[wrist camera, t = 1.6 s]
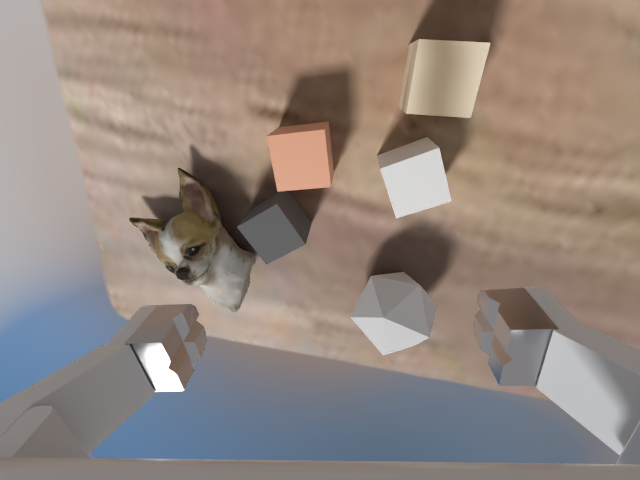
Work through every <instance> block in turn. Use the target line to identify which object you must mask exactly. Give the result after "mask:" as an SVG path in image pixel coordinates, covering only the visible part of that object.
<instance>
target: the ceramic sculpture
mask: <svg viewBox="0 0 640 480" xmlns="http://www.w3.org/2000/svg"><path fill="white" fill-rule="evenodd" d="M178 173H179V177H180V193H179V194H180V201H181V205H182V207H183V209H184V212H183V213H181V214H178V215H176V216H174V217H173V218H171V219H170V220H169V221H167V222H166V223H165V222H163V221H161V220H159V219H142V218H130V219H129V220H130V222H131V223H132V224H133V225H135V226H136V227H138V228H139V229H140V230H141V231H142V233H143V235H144V237H145V239H146V240H147V241H148V242H149V246H150V247H151V249H152V251H153V252H155V253H156V254H157V257H158V259H159V260H160V261H161V262H162V263H164V264H165V267H166V268H167V269H168V270H169V271H171V272H172V273H174V274H175V275H176V276H177V278H178V279H179V281H180V282H181V283H183V284H184V285H191V286H201V287H202V289H203V290H204V292H205V293H206V295H207V297H208V298H209V299H210V300H211V301H212V302H214V303H215V304H216V305H218V306H221V307H224V308H228V309H230V310H231V311H232V312H237V310H238V309H239V308H240V306H241V303H242V301H243V299H244V297H245V294H246V292H247V290H248V287H249V284H250V273H251V269H252V266H253V265H254V263H255V261H256V258H255V256H254V255H253V254H252V253H250V252H248V251H245V250H242V249H240V248H239V247H238V246H237V245H236V243H235V242H234V240H233V239H232V238H231V237H230V236H229V234H228V233H227V231H226V230H225V228H224V227H223V226H222V225H221V216H220V213H219V209H218V207H217V204H216V200H215V199H214V197H213V196H212V194H211V192H210V191H209V189H208V188H207V187H206V186H204V185H203V183H202V182H201V181H199V180H198V179H197V178H196V177H194V176H192V175H191V174H189V173H187V172H186V171H184V170H182V169H181V168H178Z"/></svg>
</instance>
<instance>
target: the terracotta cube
mask: <svg viewBox="0 0 640 480" xmlns="http://www.w3.org/2000/svg"><path fill="white" fill-rule="evenodd" d="M267 140H268V146H269V151H270V156H271V161H272V166H273V171H274V177H275V182H276V187H277V192H280V191H291V190H303V189H314V188H326V187H331V184H332V180H333V175H334V166H333V156H332V147H331V137H330V127H329V121H327V122H319V123H310V124H302V125H293V126H285V127H278V128H277V129H276V130H274V131H273V132H272V133H270V134H269V135H267Z"/></svg>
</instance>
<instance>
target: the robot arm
mask: <svg viewBox="0 0 640 480" xmlns="http://www.w3.org/2000/svg"><path fill="white" fill-rule="evenodd" d="M477 304H478V305H479V307H480V310H479V311H478V312H477V313H476V314H475V318H474V330H475V336H476V339H477V342H478V344H479V347H480V349H481V350H482V351H483V352H485V353H486V354H488V355H489V360H488V365H489V367H490V369H491V371H492V373H493V374H494V376H495V378H496V380H497V382H498V384H499V386H537V387H536V388H537V389H538V390H540V391H541V392H542V393H543V394H545V395H546V396H547V397H548V398H550V399H551V400H552V401H553V402H554V403H556V404H557V405H558V406H560V407H561V408H562V409H563V410H564V411H566V412H567V413H568V414H569V415H571V416H572V417H573V418H574V419H575V420H577V421H578V422H579V423H581V424H582V425H583V426H584V427H585V428H587V429H588V430H589V431H590V432H592V433H593V434H594V435H595V436H597V437H598V438H599V439H600V440H601V441H603V442H604V443H605V444H606V445H608V446H609V447H610V448H611V449H613V450H614V451H615V452H616V453H618V454H619V455H620V457H619V459H618V460H617V462H616V464H556V463H553V464H551V463H467V462H464V463H463V462H370V461H369V462H367V461H363V462H362V461H284V460H282V461H281V460H202V459H199V460H198V459H117V458H110V459H109V458H92V456H91V455H90V453H91V452H92V451H93V450H94V449H95V448H96V447H97V446H99V445H100V444H101V443H102V442H103V441H104V440H105V439H106V438H107V437H108V436H109V435H110V434H112V433H113V432H114V431H115V430H116V429H117V428H118V427H119V426H120V425H122V424H123V423H124V422H125V421H126V420H127V419H128V418H129V417H130V416H131V415H132V414H134V413H135V412H136V411H137V410H138V409H139V408H140V407H141V406H142V405H143V404H145V403H146V401H148V400H149V399H150V398H151V397H152V396H153V395H154V394H155V392H164V391H184V389H185V388H186V386H187V383H188V382H189V380H190V378H191V376H192V374H193V372H194V368H193V364H194V363H195V362H196V361H198V360H199V359H200V358H201V357H202V355H203V352H204V350H205V346H206V332H205V329H204V327H203V326H202V325H201V324H200V323H199V322H197V321H196V320H197V318H198V316H199V313H198V311H197V309H196V307H195V306H194V305H192V304H180V305H151V306H144V307H141V308H140V309H139V310H138V311H137V312H136V313H135V314H134V315H133V316H132V317H131V319H130V320H129V321H128V322H127V323H126V324H125V325H124V326H123V327H122V329H121V330H120V331H119V332H118V333H117V334H116V335H115V336H114V337H113V339H112V340H111V341H110V342H109V343H108V344H107V345H102V346H100V347H98V348H96V349H95V350H93V351H91V352H89V353H87V354H86V355H84V356H82V357H80V358H79V359H77V360H75V361H73V362H72V363H70V364H68V365H66V366H65V367H63V368H61V369H59V370H58V371H56V372H54V373H52V374H50V375H49V376H47V377H45V378H44V379H42V380H40V381H38V382H37V383H35V384H33V385H31V386H29V387H28V388H26V389H24V390H23V391H21V392H19V393H17V394H16V395H14V396H12V397H10V398H8V399H7V400H5V401H3V402H1V403H0V480H640V350H638V349H636V348H634V347H632V346H630V345H628V344H625V343H623V342H621V341H619V340H617V339H614V338H612V337H610V336H608V335H606V334H604V333H601V332H599V331H597V330H595V329H593V328H586V329H585V328H584V327H583V326H582V325H581V324H580V323H579V322H578V321H577V319H576V318H575V317H574V316H573V315H572V314H571V313H570V312H569V311H568V310H567V309H566V308H565V307H564V306H563V305H562V304H561V303H560V302H559V301H558V300H557V299H556V298H555V297H554V296H553V295H552V294H551V293H550V292H549V291H548V290H547V289H546V288H545V287H543V286H529V287H520V288H507V289H489V290H480V291H479V293H478V296H477Z"/></svg>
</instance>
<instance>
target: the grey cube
mask: <svg viewBox="0 0 640 480" xmlns="http://www.w3.org/2000/svg"><path fill="white" fill-rule="evenodd" d="M377 158H378V162H379V166H380V169H381V172H382V176H383V179H384V182H385V185H386V188H387V191H388V194H389V198H390V201H391V204H392V207H393V210H394V213H395V216H396V218H399V217H402V216H406V215H409V214H412V213H415V212H419V211H422V210H425V209H428V208H432V207H435V206H438V205H441V204H444V203H448V202H451V197H450V192H449V188H448V184H447V179H446V175H445V170H444V166H443V162H442V157H441V153H440V148H439V147H438V146H437V145H436V144H435V143H434V142H432V141H431V140H430V139H429V138H428V137H425V138H423V139H420V140H417V141H414V142H412V143H409V144H406V145H404V146H401V147H398V148H395V149H393V150H390V151H387V152H385V153H382V154H379V155H377Z"/></svg>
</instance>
